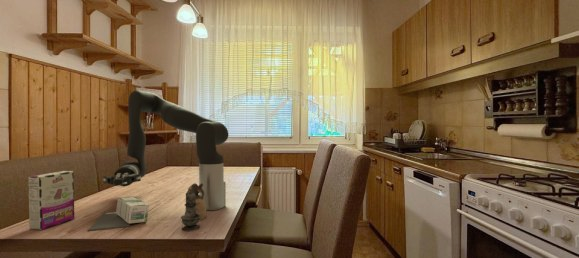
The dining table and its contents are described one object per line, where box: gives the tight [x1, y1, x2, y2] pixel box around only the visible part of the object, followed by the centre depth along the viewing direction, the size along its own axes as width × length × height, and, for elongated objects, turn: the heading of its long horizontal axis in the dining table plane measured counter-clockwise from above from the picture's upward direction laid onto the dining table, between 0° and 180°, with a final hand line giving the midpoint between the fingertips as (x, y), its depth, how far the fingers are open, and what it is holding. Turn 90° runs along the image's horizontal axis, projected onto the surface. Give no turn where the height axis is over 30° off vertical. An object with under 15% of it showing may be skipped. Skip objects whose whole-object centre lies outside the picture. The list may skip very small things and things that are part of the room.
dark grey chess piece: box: [180, 189, 201, 232], centre depth 90 cm, size 6×6×12 cm
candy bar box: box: [27, 170, 75, 231], centre depth 94 cm, size 11×5×16 cm, turn 168°
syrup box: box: [115, 196, 150, 224], centre depth 98 cm, size 6×6×14 cm
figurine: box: [184, 183, 207, 222], centre depth 99 cm, size 7×7×12 cm
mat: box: [87, 210, 132, 232], centre depth 98 cm, size 20×11×1 cm, turn 20°
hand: (117, 182), depth 101 cm, fingers closed
